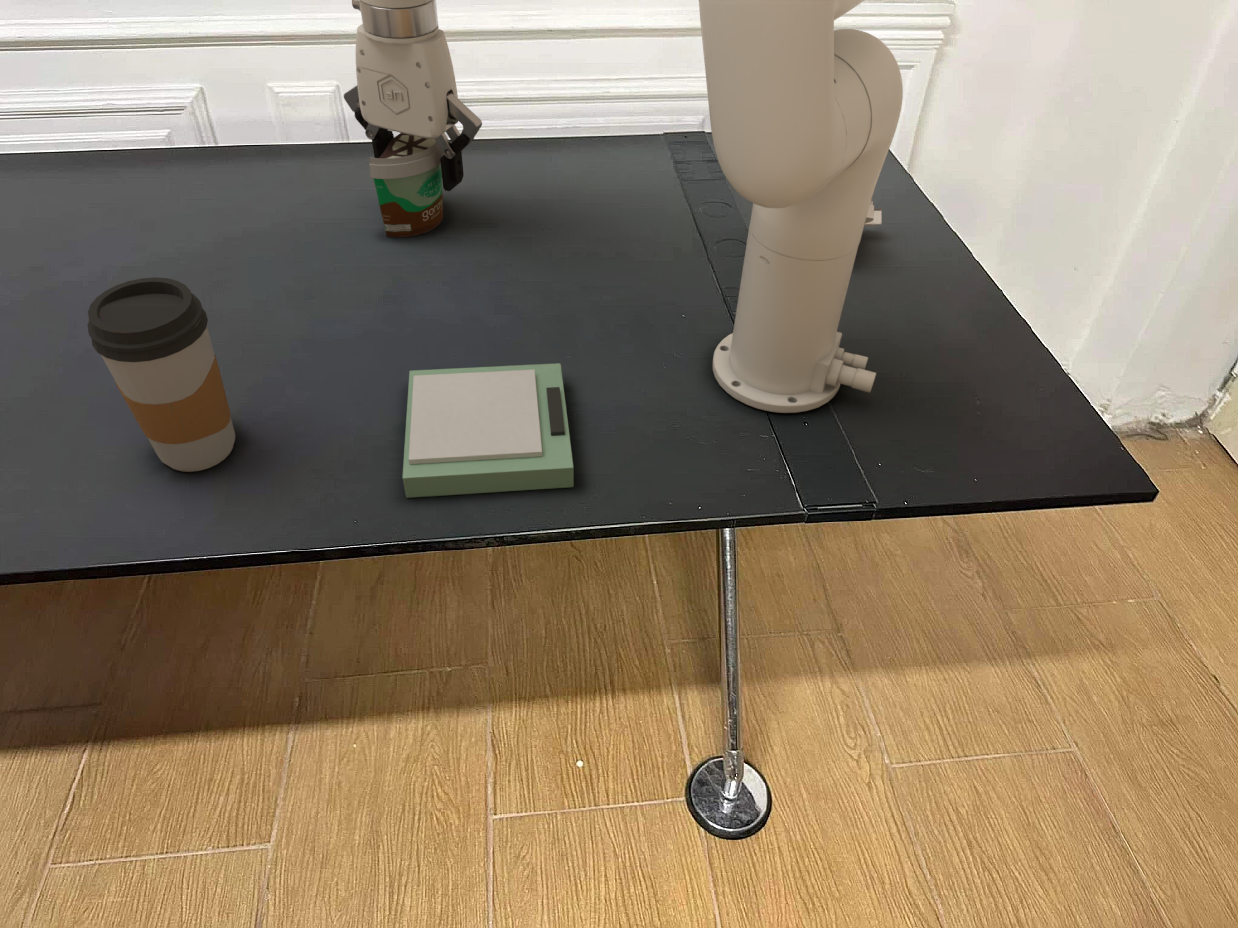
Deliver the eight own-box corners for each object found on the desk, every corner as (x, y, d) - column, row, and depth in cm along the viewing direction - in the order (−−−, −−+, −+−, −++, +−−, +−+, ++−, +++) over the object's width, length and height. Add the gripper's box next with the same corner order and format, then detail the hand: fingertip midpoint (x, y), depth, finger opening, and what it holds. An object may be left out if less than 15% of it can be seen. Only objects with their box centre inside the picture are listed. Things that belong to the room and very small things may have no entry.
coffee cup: (163, 417, 81) (101, 274, 70) (258, 415, 82) (211, 273, 71) (134, 483, 75) (62, 338, 65) (236, 481, 76) (182, 336, 65)
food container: (432, 250, 102) (422, 167, 95) (381, 243, 103) (367, 160, 96) (467, 198, 111) (460, 119, 104) (419, 192, 112) (409, 112, 105)
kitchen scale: (560, 382, 86) (560, 357, 84) (573, 487, 77) (573, 462, 75) (412, 390, 85) (408, 365, 83) (406, 498, 75) (401, 472, 73)
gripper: (305, 12, 91) (336, 175, 103) (456, 43, 86) (470, 209, 99) (348, -9, 96) (374, 148, 108) (493, 19, 91) (503, 180, 104)
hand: (420, 177), depth 103 cm, fingers open, 8 cm apart
